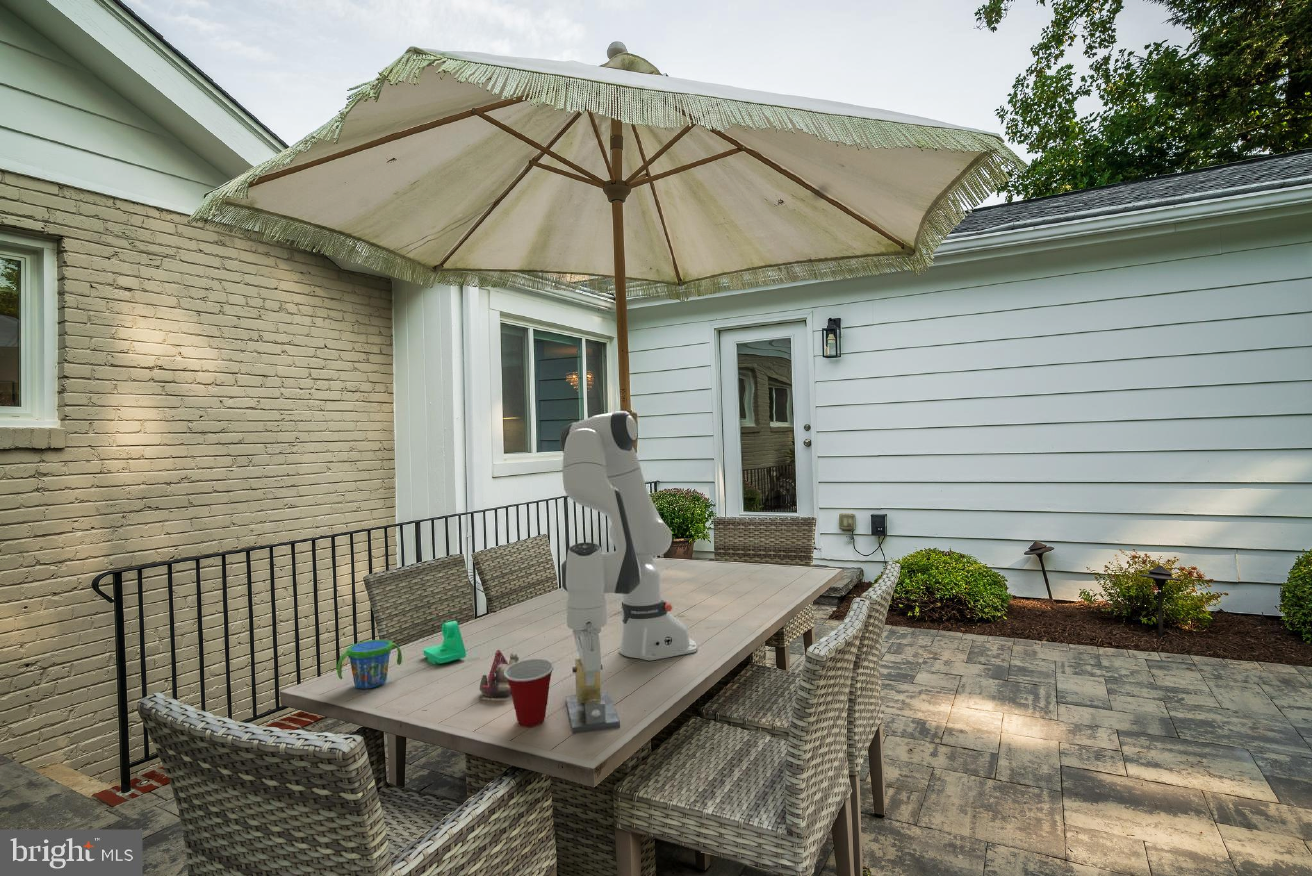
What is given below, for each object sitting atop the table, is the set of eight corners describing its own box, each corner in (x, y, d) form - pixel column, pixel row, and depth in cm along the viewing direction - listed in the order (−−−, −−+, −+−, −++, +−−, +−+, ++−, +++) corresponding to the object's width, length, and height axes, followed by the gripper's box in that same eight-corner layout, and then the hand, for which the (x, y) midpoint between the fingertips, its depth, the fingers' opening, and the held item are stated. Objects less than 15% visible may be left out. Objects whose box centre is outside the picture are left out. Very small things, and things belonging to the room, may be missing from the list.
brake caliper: (484, 674, 163) (508, 639, 161) (515, 700, 161) (540, 665, 160) (464, 690, 152) (490, 653, 151) (497, 718, 151) (524, 681, 149)
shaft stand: (608, 696, 151) (607, 674, 151) (620, 727, 135) (619, 702, 135) (565, 701, 149) (565, 679, 149) (572, 733, 132) (571, 708, 132)
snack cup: (397, 671, 173) (396, 634, 173) (407, 682, 165) (406, 643, 165) (334, 686, 164) (332, 647, 164) (341, 698, 156) (340, 657, 156)
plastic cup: (495, 729, 136) (493, 673, 136) (523, 709, 146) (521, 656, 146) (539, 736, 132) (537, 678, 132) (564, 714, 142) (562, 660, 142)
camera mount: (422, 658, 185) (421, 622, 185) (447, 651, 190) (446, 617, 190) (440, 667, 176) (439, 630, 176) (466, 660, 181) (464, 624, 181)
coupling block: (601, 691, 145) (600, 656, 145) (604, 700, 140) (603, 664, 140) (572, 694, 144) (571, 659, 144) (574, 703, 139) (573, 667, 139)
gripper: (607, 628, 132) (608, 695, 132) (595, 605, 152) (596, 662, 152) (576, 631, 131) (578, 698, 131) (568, 607, 151) (570, 665, 151)
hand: (588, 679), depth 142 cm, fingers closed on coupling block, 5 cm apart
